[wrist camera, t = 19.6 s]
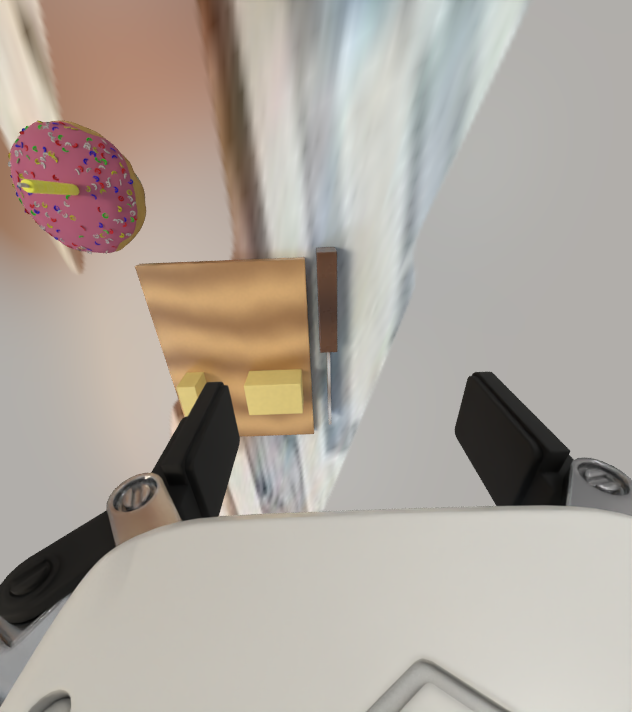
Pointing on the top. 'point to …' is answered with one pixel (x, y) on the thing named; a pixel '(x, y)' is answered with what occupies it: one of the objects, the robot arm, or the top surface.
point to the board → (234, 328)
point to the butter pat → (190, 389)
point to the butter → (274, 392)
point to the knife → (327, 307)
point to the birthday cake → (77, 186)
